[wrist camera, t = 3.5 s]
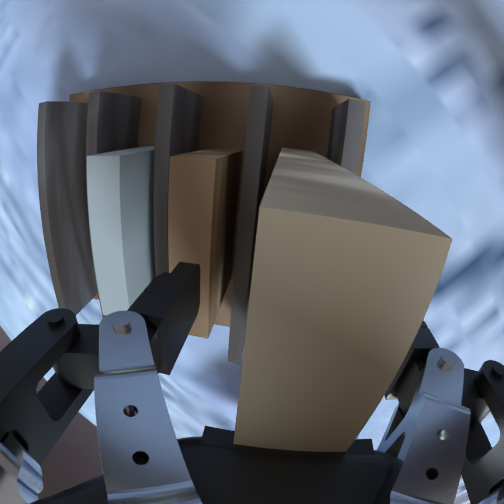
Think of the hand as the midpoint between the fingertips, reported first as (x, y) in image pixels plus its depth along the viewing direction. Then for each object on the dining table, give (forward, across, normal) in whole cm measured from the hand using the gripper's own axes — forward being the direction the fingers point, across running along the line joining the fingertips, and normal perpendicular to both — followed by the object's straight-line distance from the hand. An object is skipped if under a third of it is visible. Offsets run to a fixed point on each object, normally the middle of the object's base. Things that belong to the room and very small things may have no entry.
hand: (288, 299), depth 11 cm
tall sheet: (+9, 0, 0) cm, 9 cm away
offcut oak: (+9, +4, 0) cm, 10 cm away
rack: (+11, +7, 0) cm, 13 cm away
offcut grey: (+9, +9, 0) cm, 13 cm away
